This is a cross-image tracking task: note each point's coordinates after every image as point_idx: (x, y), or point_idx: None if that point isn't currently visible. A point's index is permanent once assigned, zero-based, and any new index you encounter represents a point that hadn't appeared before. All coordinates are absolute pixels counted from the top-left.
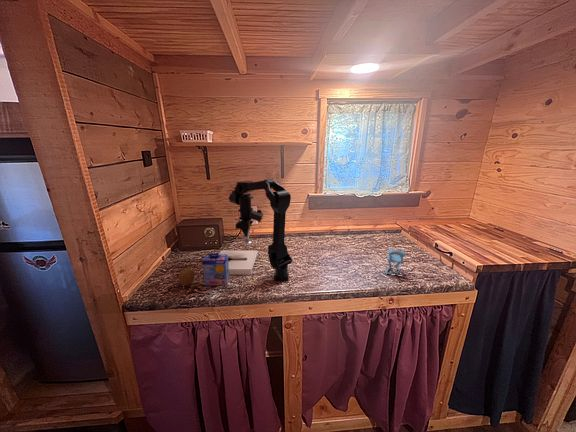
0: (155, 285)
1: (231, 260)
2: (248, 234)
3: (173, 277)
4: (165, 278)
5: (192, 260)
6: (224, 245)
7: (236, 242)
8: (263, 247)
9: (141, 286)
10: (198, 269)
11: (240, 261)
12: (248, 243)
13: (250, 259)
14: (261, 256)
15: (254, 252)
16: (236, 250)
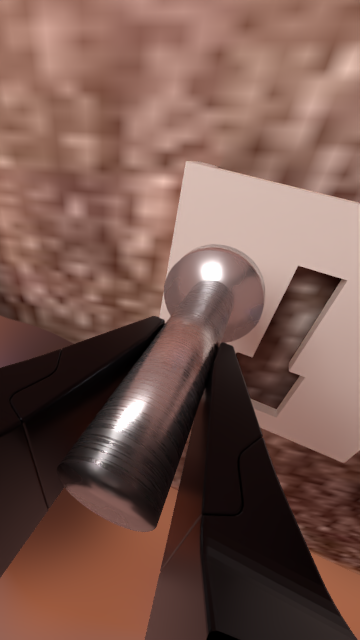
0: (329, 538)
1: (293, 364)
2: (200, 344)
3: (298, 505)
4: (294, 516)
5: (187, 446)
6: (66, 338)
7: (29, 285)
8: (69, 101)
9: (315, 551)
10: (270, 450)
11: (341, 321)
12: (264, 295)
13: (346, 245)
14: (226, 127)
15: (216, 196)
16: (159, 317)
